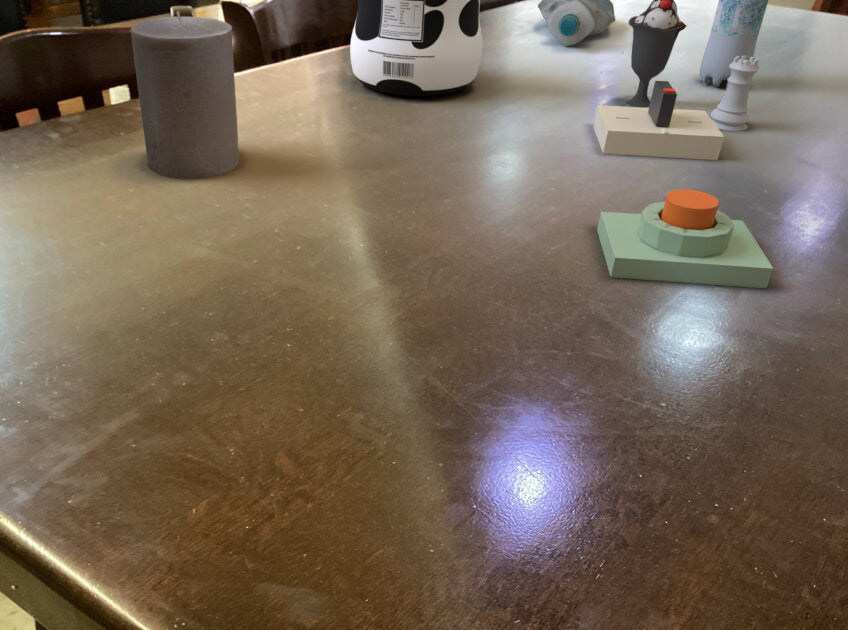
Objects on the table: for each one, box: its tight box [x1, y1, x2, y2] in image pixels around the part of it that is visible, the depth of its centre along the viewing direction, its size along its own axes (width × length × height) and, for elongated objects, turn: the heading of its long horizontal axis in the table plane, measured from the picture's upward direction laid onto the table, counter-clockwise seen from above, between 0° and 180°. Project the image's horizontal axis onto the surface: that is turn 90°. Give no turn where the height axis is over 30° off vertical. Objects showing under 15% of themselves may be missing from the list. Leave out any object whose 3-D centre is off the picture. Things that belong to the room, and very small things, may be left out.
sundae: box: [624, 0, 688, 108], centre depth 99 cm, size 7×7×15 cm
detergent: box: [537, 0, 616, 47], centre depth 134 cm, size 13×7×25 cm
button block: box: [596, 200, 774, 289], centre depth 67 cm, size 12×9×4 cm
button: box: [661, 188, 720, 230], centre depth 66 cm, size 4×4×2 cm
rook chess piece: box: [710, 56, 761, 132], centre depth 95 cm, size 4×4×8 cm
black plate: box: [648, 80, 678, 127], centre depth 89 cm, size 5×1×4 cm, turn 172°
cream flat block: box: [593, 104, 725, 161], centre depth 91 cm, size 12×9×3 cm
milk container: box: [349, 0, 484, 97], centre depth 105 cm, size 17×17×18 cm
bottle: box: [699, 0, 769, 88], centre depth 107 cm, size 7×7×20 cm
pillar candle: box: [130, 10, 240, 180], centre depth 81 cm, size 10×10×15 cm
